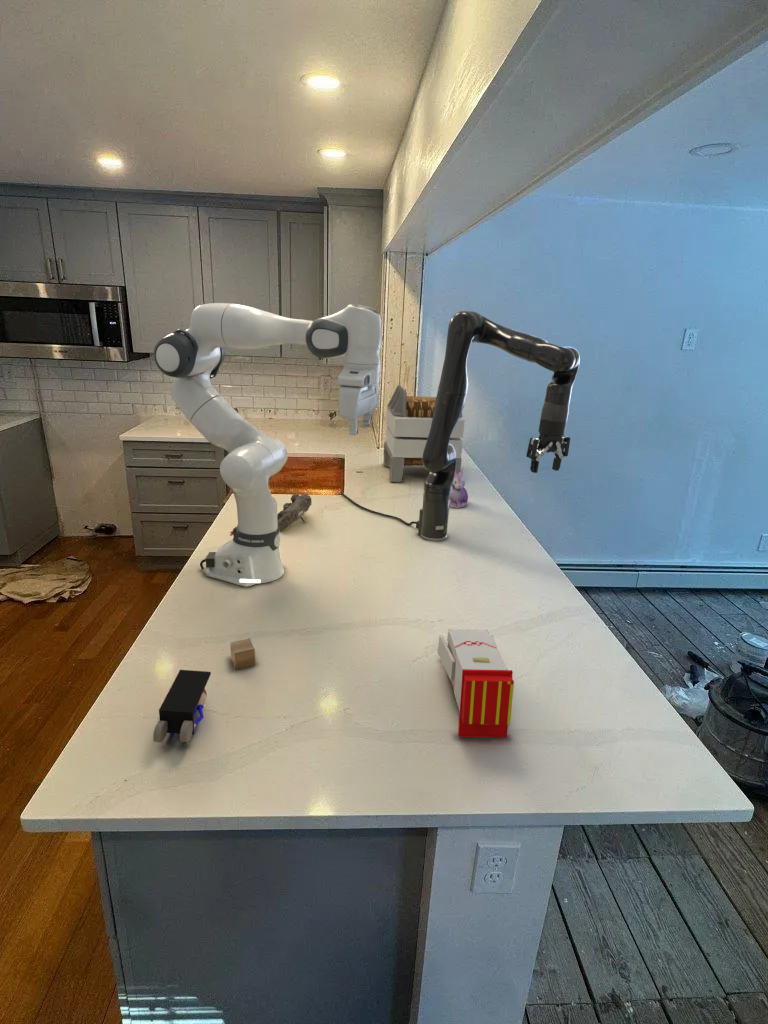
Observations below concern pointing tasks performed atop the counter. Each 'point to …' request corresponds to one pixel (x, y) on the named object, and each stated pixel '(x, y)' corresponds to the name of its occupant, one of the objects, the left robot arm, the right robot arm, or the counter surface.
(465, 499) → the figurine
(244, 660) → the brown wooden cube
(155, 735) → the figurine character
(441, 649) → the toy
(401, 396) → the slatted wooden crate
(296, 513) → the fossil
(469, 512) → the counter surface
